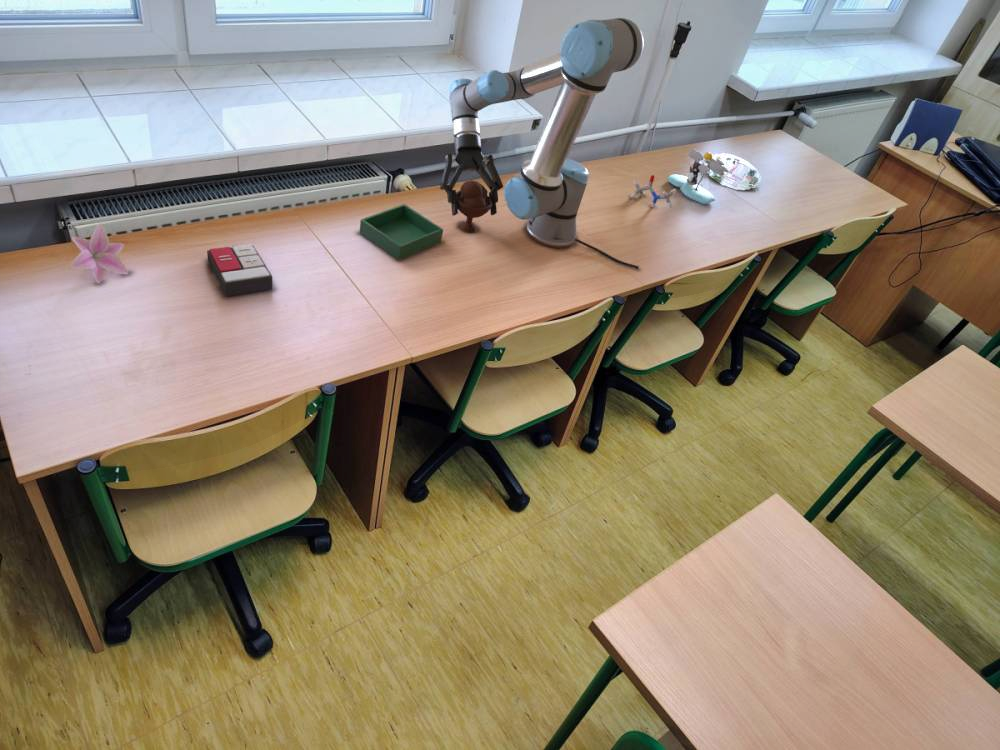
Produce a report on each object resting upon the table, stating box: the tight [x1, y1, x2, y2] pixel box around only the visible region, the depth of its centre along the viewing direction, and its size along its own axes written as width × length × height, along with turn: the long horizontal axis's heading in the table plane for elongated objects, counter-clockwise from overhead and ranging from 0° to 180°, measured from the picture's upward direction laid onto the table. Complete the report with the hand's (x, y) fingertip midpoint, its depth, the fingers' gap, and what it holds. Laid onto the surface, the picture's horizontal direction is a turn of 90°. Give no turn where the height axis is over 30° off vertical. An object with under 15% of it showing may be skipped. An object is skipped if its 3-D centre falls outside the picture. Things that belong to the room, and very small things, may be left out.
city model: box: [703, 152, 763, 191], centre depth 274 cm, size 25×23×6 cm
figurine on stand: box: [667, 148, 728, 205], centre depth 252 cm, size 20×11×15 cm, turn 30°
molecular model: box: [630, 174, 677, 209], centre depth 240 cm, size 18×8×10 cm, turn 42°
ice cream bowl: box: [456, 180, 492, 234], centre depth 202 cm, size 11×11×15 cm
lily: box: [69, 222, 129, 284], centre depth 158 cm, size 12×12×10 cm
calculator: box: [206, 243, 273, 297], centre depth 168 cm, size 11×4×15 cm
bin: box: [359, 203, 444, 261], centre depth 194 cm, size 15×16×4 cm
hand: (474, 214), depth 201 cm, fingers closed on ice cream bowl, 11 cm apart
